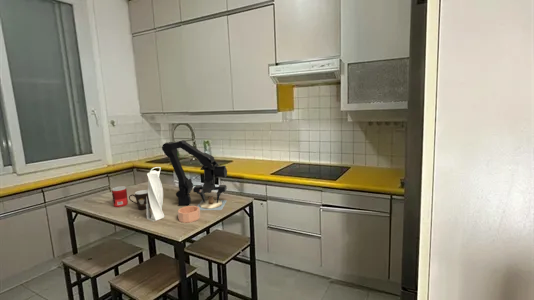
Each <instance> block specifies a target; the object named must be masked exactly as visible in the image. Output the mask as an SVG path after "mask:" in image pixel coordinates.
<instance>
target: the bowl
mask: <svg viewBox="0 0 534 300" xmlns="http://www.w3.org/2000/svg"><path fill="white" fill-rule="evenodd" d="M197 206H198V205H197ZM197 206H196V205H188V206H182V207H180V208H179V209H178V210H177V218H178V222H180V223H185V224H187V223H189V224H190V223H193V222H196V221H198V220H199V219H200V218H201V210H200V208H199V207H197Z"/></svg>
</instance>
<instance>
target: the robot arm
mask: <svg viewBox="0 0 534 300" xmlns="http://www.w3.org/2000/svg"><path fill="white" fill-rule="evenodd" d="M178 149H182V150H183V151H185V152H186V153H188V154H190V155H191V156H193V157H194V158H195V159H197V160H198V161H199V163H200V164H201V165H202V167H201V168H199V170H200V171H203V176H204V177H203V178H204V180H203V184H200V185H199V184H197V185H195V186H194V182H193V181H192V179H191V178H188V177H187V176H186V174H185V171H184V169H183V166H182V164H181V161H180V159H179V156H178ZM161 150H162V151H163V153H164V155H165V156H166V157H168V159H169V161H170V164H171V165H172V168H173V170H174V173H175V176H176V178H177V181H178V184H177V185H178V191H176V193H175V195H176V197H177V202H178V203H177V204H178V205H177V207H186V206H190V205H191V203H192V197H191V196H190V195H191V192H192V191H193V193H197V194H199V196H200V197H201V201H203V202H204V203H205V200H206V198H205V195H206V194H207V193H208V194H211V193H212V191H217V192H216V200H217V203H218V201H219V199H220V197H221V194H223V193H224V192H226V191H227V188H228V187H227V185H226V184H219V185H218V186H216V184H215V181H216V180H215V179H216V178H227V177H228V169H227V167H226V165H219V164H218V162H216V159H215V157H214V156H213V155H211V154H208V153H206V152H203V151H201V150H199V149H198V148H197V147H195V146H193V145H192V144H190V143H188V142H187V141H186V140H180V141H175V142H174V141H168V142H166V143H163V144H162V146H161Z"/></svg>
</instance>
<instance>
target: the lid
mask: <svg viewBox="0 0 534 300" xmlns="http://www.w3.org/2000/svg"><path fill="white" fill-rule="evenodd" d="M206 200H207V201H205V203H204V202H202V203H200V202H199V203H200V207H201V208H204V209H213V208H218V207H220V206H221V205H222V201H220V200H219V201H218V203H217V199H214V196H213V195H210V196H207V199H206Z"/></svg>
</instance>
